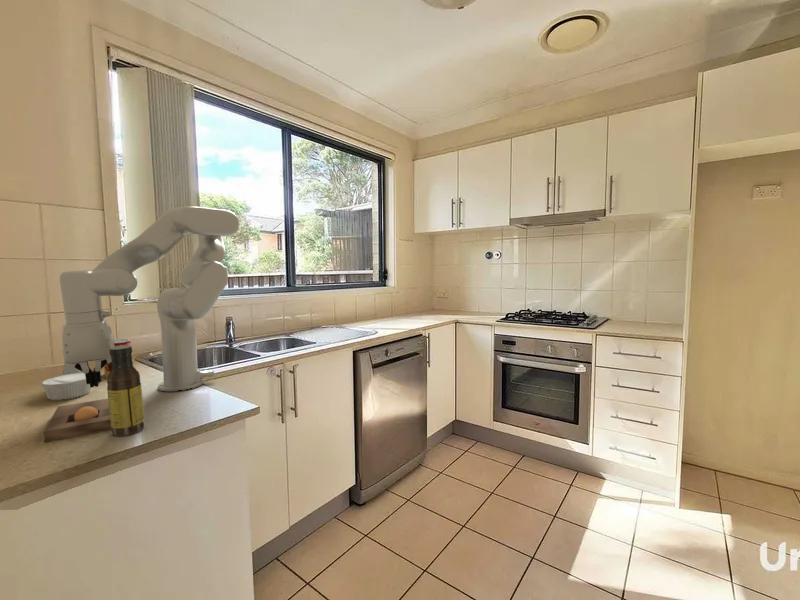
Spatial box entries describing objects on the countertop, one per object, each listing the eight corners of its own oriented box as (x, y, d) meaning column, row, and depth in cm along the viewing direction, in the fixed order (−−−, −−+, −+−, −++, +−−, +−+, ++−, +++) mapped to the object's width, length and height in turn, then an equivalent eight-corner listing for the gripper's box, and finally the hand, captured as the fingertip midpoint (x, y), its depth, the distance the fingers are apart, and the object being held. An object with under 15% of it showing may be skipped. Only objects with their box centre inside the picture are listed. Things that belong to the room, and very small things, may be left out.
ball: (79, 428, 84) (84, 430, 88) (100, 415, 87) (104, 417, 91) (67, 413, 85) (73, 416, 88) (88, 401, 87) (93, 403, 91)
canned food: (117, 377, 127) (116, 343, 126) (98, 376, 128) (96, 342, 127) (137, 371, 134) (135, 339, 133) (119, 370, 136) (117, 338, 135)
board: (126, 404, 101) (126, 395, 101) (125, 426, 87) (124, 416, 87) (58, 415, 93) (58, 406, 93) (44, 442, 79) (43, 431, 78)
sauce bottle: (141, 423, 89) (136, 342, 87) (147, 431, 84) (143, 346, 83) (107, 431, 84) (102, 346, 82) (113, 440, 80) (107, 350, 78)
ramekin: (33, 403, 102) (31, 385, 101) (58, 391, 112) (57, 374, 112) (81, 400, 105) (80, 382, 104) (101, 388, 115) (100, 371, 115)
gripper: (121, 313, 102) (129, 375, 105) (48, 320, 93) (59, 388, 96) (120, 316, 96) (129, 383, 99) (42, 324, 87) (54, 397, 90)
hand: (94, 385), depth 97 cm, fingers closed
